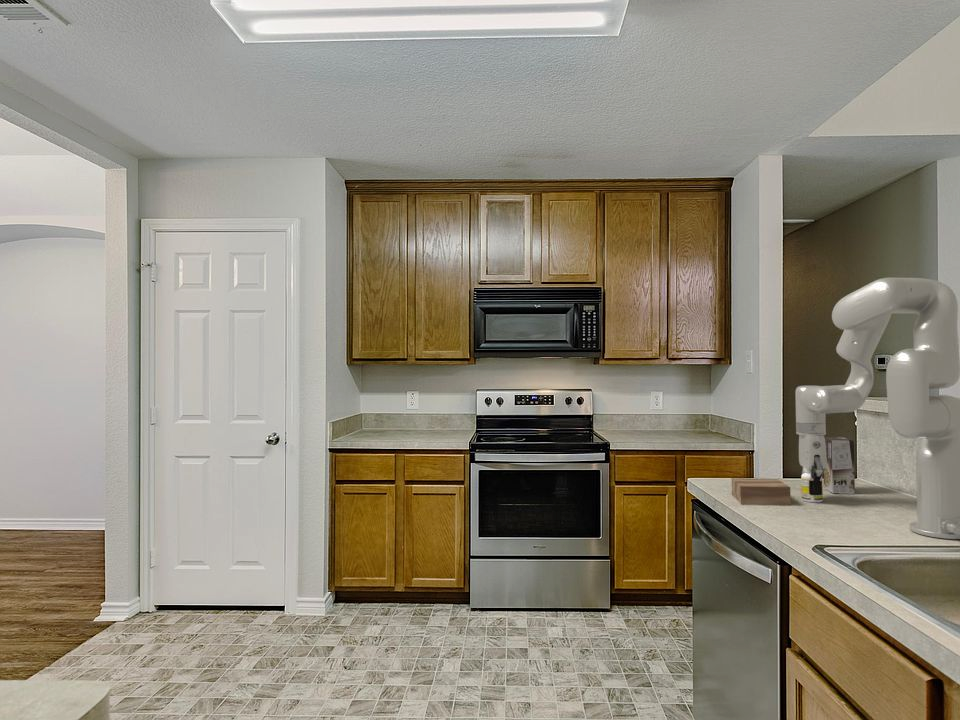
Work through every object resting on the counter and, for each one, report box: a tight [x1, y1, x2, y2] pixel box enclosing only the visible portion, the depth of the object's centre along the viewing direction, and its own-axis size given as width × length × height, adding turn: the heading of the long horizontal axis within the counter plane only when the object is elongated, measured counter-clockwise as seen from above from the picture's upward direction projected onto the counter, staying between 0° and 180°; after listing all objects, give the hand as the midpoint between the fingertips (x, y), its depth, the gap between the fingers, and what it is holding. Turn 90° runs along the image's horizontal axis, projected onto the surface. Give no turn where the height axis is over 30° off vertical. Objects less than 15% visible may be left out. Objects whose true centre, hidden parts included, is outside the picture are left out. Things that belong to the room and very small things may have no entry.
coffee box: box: [822, 436, 856, 495], centre depth 199 cm, size 9×6×16 cm
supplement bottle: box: [800, 468, 824, 503], centre depth 186 cm, size 5×5×10 cm
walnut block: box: [731, 477, 792, 506], centre depth 189 cm, size 13×13×5 cm
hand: (812, 492), depth 186 cm, fingers closed on supplement bottle, 5 cm apart
